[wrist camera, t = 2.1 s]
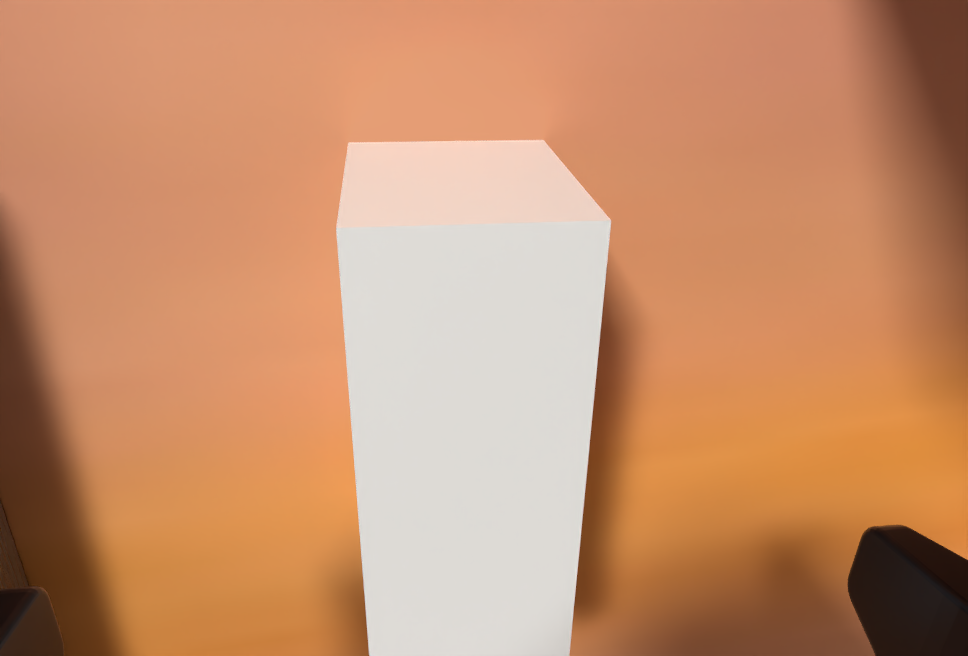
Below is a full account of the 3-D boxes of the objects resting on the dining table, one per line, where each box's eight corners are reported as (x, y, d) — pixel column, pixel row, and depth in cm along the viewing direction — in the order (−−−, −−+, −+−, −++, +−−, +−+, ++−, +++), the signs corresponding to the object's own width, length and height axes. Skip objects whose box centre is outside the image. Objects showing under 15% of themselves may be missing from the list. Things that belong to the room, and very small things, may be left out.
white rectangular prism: (524, 490, 15) (569, 658, 12) (372, 500, 15) (371, 677, 11) (541, 138, 12) (611, 220, 8) (348, 140, 12) (335, 227, 8)
